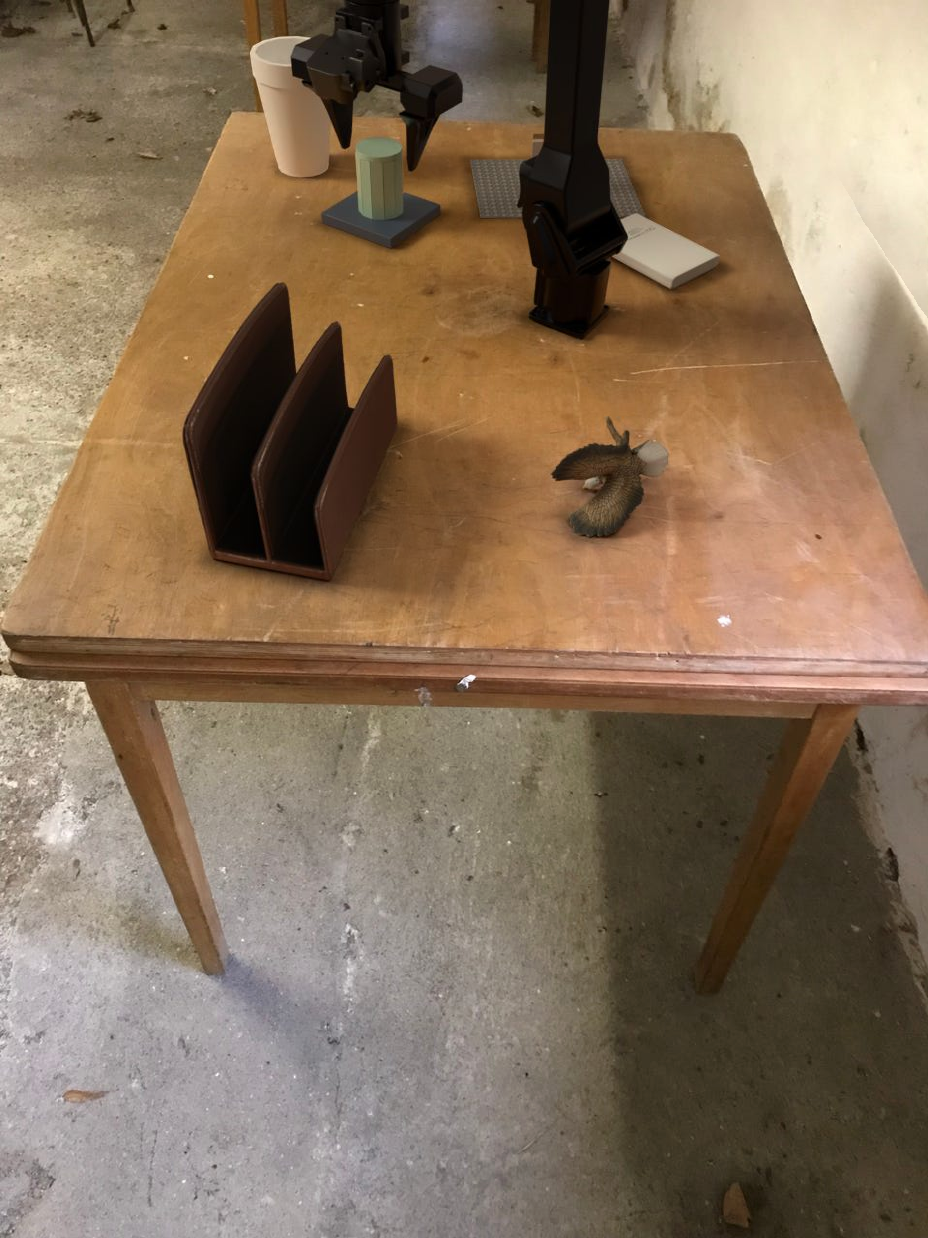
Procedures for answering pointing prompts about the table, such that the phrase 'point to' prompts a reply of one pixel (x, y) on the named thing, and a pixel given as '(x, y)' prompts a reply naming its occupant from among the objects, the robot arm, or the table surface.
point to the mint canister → (380, 178)
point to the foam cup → (291, 110)
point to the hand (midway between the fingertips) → (378, 158)
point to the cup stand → (381, 230)
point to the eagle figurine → (610, 480)
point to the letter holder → (285, 445)
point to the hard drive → (663, 253)
